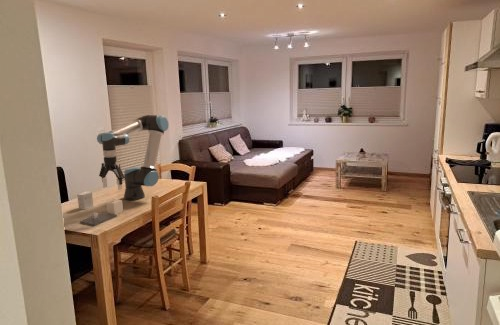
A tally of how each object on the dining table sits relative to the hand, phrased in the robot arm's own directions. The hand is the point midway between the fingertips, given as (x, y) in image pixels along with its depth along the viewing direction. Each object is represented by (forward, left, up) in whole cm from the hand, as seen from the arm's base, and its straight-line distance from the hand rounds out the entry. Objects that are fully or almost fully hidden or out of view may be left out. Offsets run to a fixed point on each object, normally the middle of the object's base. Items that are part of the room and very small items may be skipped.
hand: (112, 188), depth 232 cm
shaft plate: (+14, +1, -17) cm, 22 cm away
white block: (0, 0, -17) cm, 17 cm away
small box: (0, -28, -17) cm, 33 cm away
